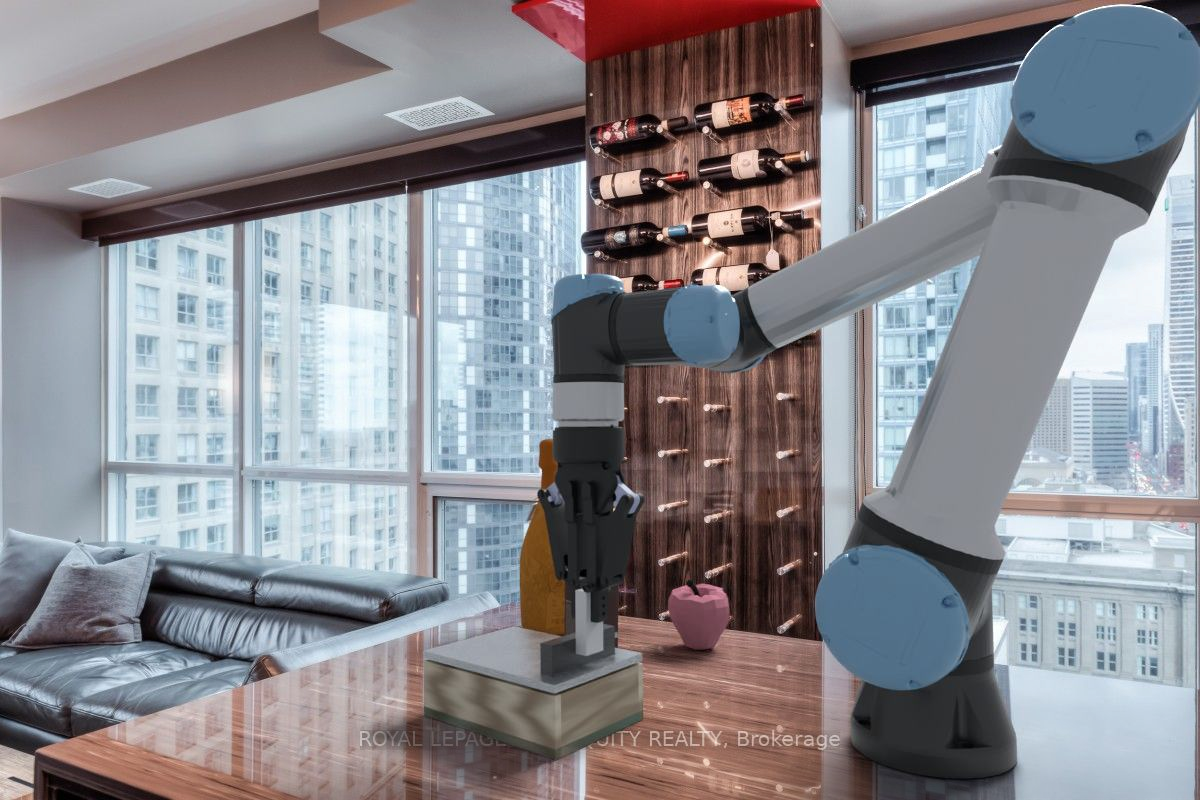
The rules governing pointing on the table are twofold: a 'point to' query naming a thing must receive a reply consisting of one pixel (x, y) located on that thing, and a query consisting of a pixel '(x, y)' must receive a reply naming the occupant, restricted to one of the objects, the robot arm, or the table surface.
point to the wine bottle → (541, 563)
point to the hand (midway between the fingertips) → (589, 651)
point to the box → (611, 620)
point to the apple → (699, 614)
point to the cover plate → (534, 657)
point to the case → (534, 707)
